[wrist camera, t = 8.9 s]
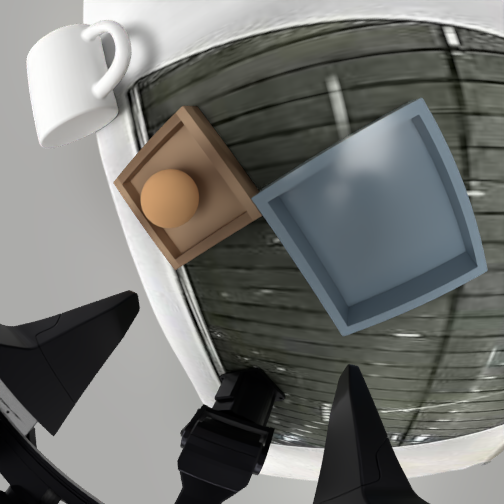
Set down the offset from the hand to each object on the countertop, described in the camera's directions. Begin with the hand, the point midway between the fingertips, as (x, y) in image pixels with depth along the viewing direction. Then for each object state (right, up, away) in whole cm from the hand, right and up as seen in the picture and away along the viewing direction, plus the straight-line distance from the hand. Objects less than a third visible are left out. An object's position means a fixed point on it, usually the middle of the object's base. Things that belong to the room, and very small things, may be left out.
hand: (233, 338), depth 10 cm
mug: (-13, +21, +10) cm, 26 cm away
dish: (+10, +6, +9) cm, 15 cm away
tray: (-5, +9, +13) cm, 16 cm away
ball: (-6, +7, +10) cm, 13 cm away
